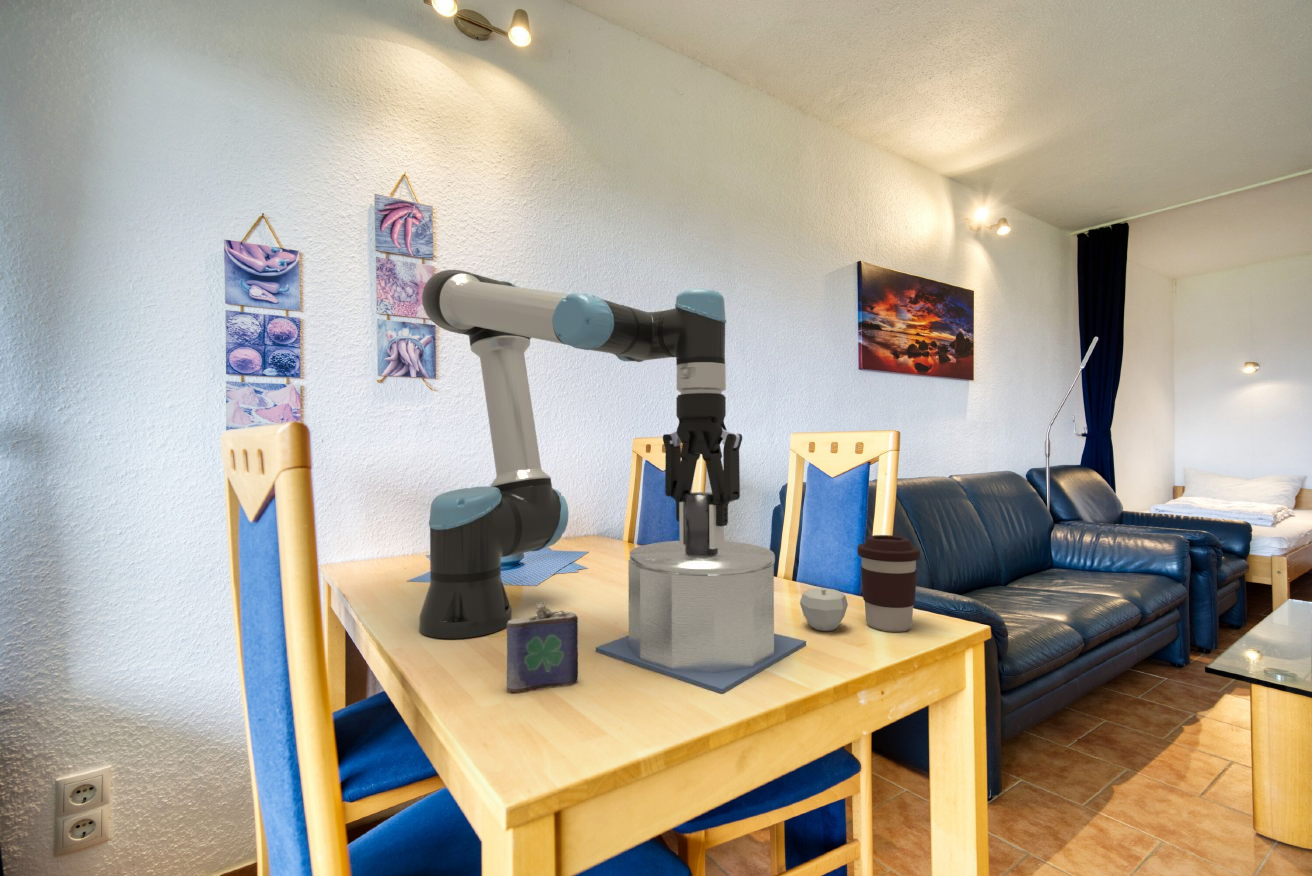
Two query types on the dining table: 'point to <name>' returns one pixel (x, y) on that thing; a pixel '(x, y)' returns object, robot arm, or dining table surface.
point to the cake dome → (701, 599)
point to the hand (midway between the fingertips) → (701, 545)
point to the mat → (704, 679)
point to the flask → (542, 650)
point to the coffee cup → (888, 581)
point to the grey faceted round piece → (823, 608)
